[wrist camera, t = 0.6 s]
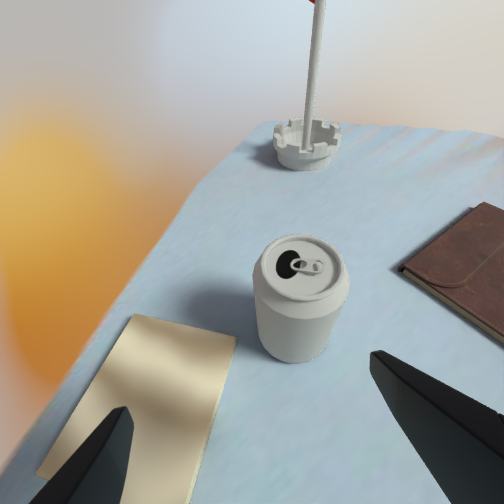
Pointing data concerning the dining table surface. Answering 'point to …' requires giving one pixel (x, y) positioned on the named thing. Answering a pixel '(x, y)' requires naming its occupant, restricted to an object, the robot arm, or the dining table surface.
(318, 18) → the flag stand
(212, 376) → the board
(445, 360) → the dining table surface
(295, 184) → the dining table surface
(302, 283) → the can
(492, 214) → the notebook
